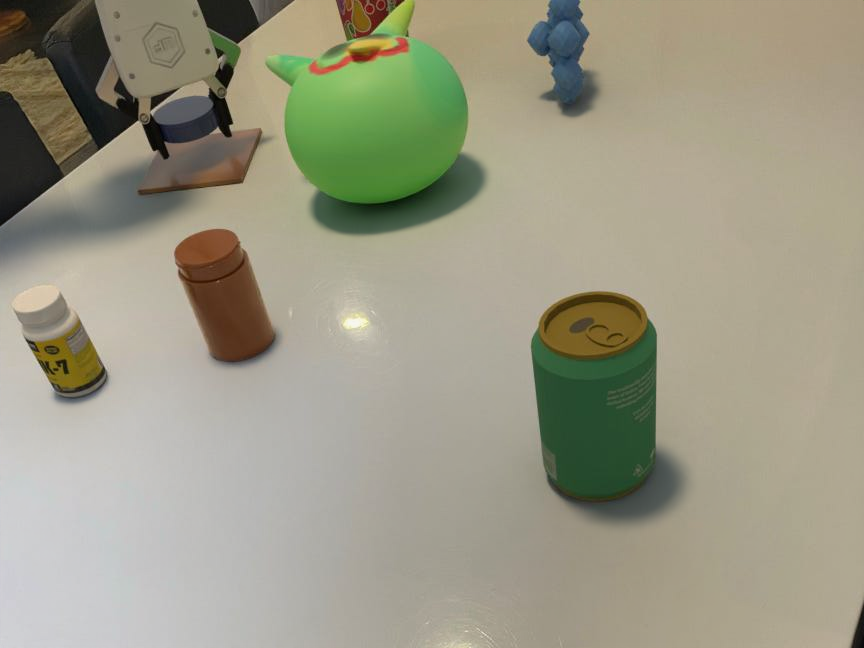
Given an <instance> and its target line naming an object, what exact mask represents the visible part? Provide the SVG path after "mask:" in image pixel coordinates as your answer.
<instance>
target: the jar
mask: <svg viewBox="0 0 864 648" xmlns="http://www.w3.org/2000/svg"><path fill="white" fill-rule="evenodd" d="M241 243H242V242H241V241H240V239H239V236H238V235H237V234H236V233H235V232H234V231H232V230H230V229H227V228H226V229H225V228H212V229H206V230H202V231H198V232H196V233H194V234H191V235H189V236H187V237H186V238H184V239H183V240H182V241H180V243H179V244H178V245H176V247H175V249H174V252H173V256H174V264H175V265H176V267H177V276H178V279H179V281H180V284H181V286H182V289H183V290H184V294H185V296H186V298H187V301H188V304H189V305H190V308H191V310H192V313H193V315H194V318H195V320H196V322H197V325H198V328H199V330H200V333H201V334H202V337H203V339H204V341H205V344H206V346H207V349H208V351H209V353H210V354H211V356H212V357H213V358H215V359H217V360H219V361H224V362H239V361H244V360H247V359H251V358H253V357H256V356H258V355H259V354H261V353H263V352H264V351H265V350H267V349H268V348H269V347H270V346H271V345H272V343H273V341H274V338H275V335H276V334H275V329H274V326H273V323H272V321H271V318H270V315H269V312H268V309H267V306H266V304H265V301H264V298H263V294H262V292H261V289H260V286H259V283H258V281H257V277H256V275H255V271H254V269H253V266H252V263H251V259H250V256H249V254H248V252H247V251H246V250H245V248H243V247H242V245H241Z"/></svg>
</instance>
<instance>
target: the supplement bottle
mask: <svg viewBox="0 0 864 648" xmlns="http://www.w3.org/2000/svg"><path fill="white" fill-rule="evenodd" d="M66 301H67V300H66V299H65V297H64V295H63V294H62V292H61V291H60V289H59V288H58V287H57V286H55V285H51V284H42V285H37V286H33V287H30V288H28V289H26V290H25V291H22V292H20V293H19V294H18V295H17V296H16V297H15V298H14V299H13V300H12V303H11V307H12V310H13V313H14V314H15V315H16V318H17V320H18V321H19V322H20V324H21V326H20V331H21V335H22V336H23V338H24V340H25V342H26V344H27V346H28V347H29V349H30V350H31V352H32V354H33V356H34V357H35V359H36V362H38V364H39V366H40V368H41V370H42V372H43V373H44V374H45V376H46V378H47V380H48V382H49V383H50V385H51V386H52V388H53V390H54V391H55V393H57V394H58V395H59V396H62V397H65V398H78V397H83V396H85V395H86V396H87V395H89V394H91V393H93V392H94V391H95V390H97V389H99V388H100V387H101V385H102V384H103V383H104V382H105V380H106V379H107V369H106V367H105V365H104V363H103V361H102V359H101V357H100V355H99V353H98V352H97V349H96V347H95V345H94V344H93V341H92V339H91V338H90V336H89V334H88V332H87V330H86V328H85V326H84V324H83V322H82V320H81V318H80V317H79V314H78V313H77V311H75V309H74V308H73V307H71V306H69V305H68V303H67V302H66Z"/></svg>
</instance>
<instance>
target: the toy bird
mask: <svg viewBox="0 0 864 648" xmlns="http://www.w3.org/2000/svg"><path fill="white" fill-rule="evenodd" d="M415 6H416V2H415V0H405V1H404V2H402V3H401V4H400V5H399V6H398V7H396V8H395V9H394V10H393V11H392V12H391V13H390V14H389V15H388V16H387V17H386V18H385V19H384V21H383V22H382V23H381V24H380V25H379V26H378V27H377V28H376V29H375V30H374V31H373V32H372V33H371V34H370V35H368V36H366V37H361V38H357V39H353V40H350V41H347V40H346V41H345V42H342V43H339V44H337V45H335V46H333V47H330V48H329V49H327V50H326V51H324V52H322V53H321V54H319V55H318V56H317V57H315V58H311V57H303V56H296V55H287V54H273V55H269V56H267V57H266V58H265V60H264V64H265V66H266V67H267V69H269V71H271V72H272V73H273V74H274V75H275V76H277V77H278V78H279V79H281V81H283V82H284V83H285V84H287V85H288V86H290V87H291V88H290V91H289V93H288V96H287V99H286V103H285V109H284V134H285V139H286V143H287V146H288V150H289V152H290V155H291V157H292V159H293V161H294V162H295V165H296V166H297V168H298V170H299V171H300V172H301V174H302V175H303V176H304V178H305V179H306V180H307V181H308V182H309V183H310V184H311V185H312V186H314V187H315V188H316V189H318V190H319V191H320V192H322V193H324V194H325V195H327V196H330V197H332V198H334V199H337V200H339V201H340V200H341V201H344V202H348V203H354V204H365V205H366V204H367V205H370V204H382V203H383V204H384V203H388V202H393V201H397V200H401V199H404V198H407V197H410V196H412V195H415V194H416V193H418V192H421V191H422V190H424V189H427V188H428V187H430V186H431V185H432V184H434V183H435V182H436V181H438V180H439V179H440V178H441V177H442V176H443V175H444V174H445V173H446V172H447V171H448V170H450V168H451V167H452V166H453V164H454V162H456V160H457V158H458V157H459V156H460V153H461V151H462V149H463V146H464V144H465V141H466V138H467V133H468V127H469V106H468V99H467V95H466V90H465V88H464V85H463V83H462V80H461V77H460V76H459V75H458V72H457V71H456V69H455V68H454V67H453V65H452V64H451V62H450V61H449V60H448V59H447V58H446V56H444V54H442V53H441V52H440V51H439V50H438V49H436V48H435V47H433V46H431V45H430V44H428V43H426V42H424V41H422V40H419V39H416V38H413V37H410V36H409V37H406V34H407V30H408V31H409V27H410V24H411V22H412V18H413V16H414V11H415Z"/></svg>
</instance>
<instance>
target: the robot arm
mask: <svg viewBox="0 0 864 648" xmlns="http://www.w3.org/2000/svg"><path fill="white" fill-rule="evenodd" d="M94 4H95V8H96V11H97V14H98V18H99V21H100V22H99V23H100V26H101V29H102V32H103V35H104V39H105V41H106V44H107V47H108V50H109V53H110V56H109V58H108V61H107V62H106V64H105V67H104V70H103V71H102V74H101V76H100V78H99V80H98V82H97V85H96V87H95V93H96V95H97V96H98V98H99V99H100V100H102V101H104V102H105V103H107V104H108V105H110V106H112V107H113V108H116V109H117V110H119V112H121V113H123V114H125V115H127V116H129V117H131V118H133V119H134V120H136V121H138V122H139V123H140V124H141V127H142V128H143V131H144V134H145V136H146V139H147V142H148V144H149V146H150V148H151V151H152V152H156V151H157V152H158V151H159V153H160V154H161V156H162V157H163V159H164V160H166V159H169V158H168V157H170V156H169V153H168V150H167V148H166V145H165V142H164V140H163V137H162V135H161V132H160V129H159V127H158V124H157V122H156V120H155V119H154V117H153V115H152V113H151V111H152V110H151V108H152V107H151V106H152V97H156V96H160V95H162V94H165V93H169V92H171V91H175V90H177V89H180V88H183V87H186V86H189V85H192V84H195V83H198V82H201V81H203V82H204V83H205V84H206V85H207V86H208V94H207V97H209V98H210V99H211V100H212V101H213V103H214V105H215V108H216V110H217V113H218V116H219V119H220V124H219V126H218V127H217V128H218V129H219V131H220V133H223V135H224V136H225V137H227V138H229V137H232V134H231V131H232V130H231V128H230V126H232V125H234V120H233V117H232V114H231V111H230V108H229V105H228V102H227V99H226V97H227V95H228V89H229V86H230V84H231V81H232V79H233V77H234V74H235V68H236V67H237V64H238V61H239V58H240V57H241V54H242V53H241V52H242V49H241V47H240V45H238V43H236V42H235V41H233V40H232V39H229V38H228V37H226V36H224V35H222V34H220V33H219V32H216V31H215V30H213V29H211V28H209V27H207V26H208V25H207V23H206V19H205V17H204V15H203V12H202V10H201V7H200V4H199V2H198V0H94ZM216 49H217V50H219V51H221V52H222V53H223V54H222V59H221V61H220V62H219V58H218V55H217V51H216ZM119 79H120V81H121V82H122V84H123V85H124V87H125V89H126V91H127V92H128V93H129V94H130V95H131V96H132V97H133V98H132V99H133V100H131V99H130V98H128V97H126V96H124V95H121V94H119V93H118V92H117V91H115V87H116V85H117V82H118V80H119Z"/></svg>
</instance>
